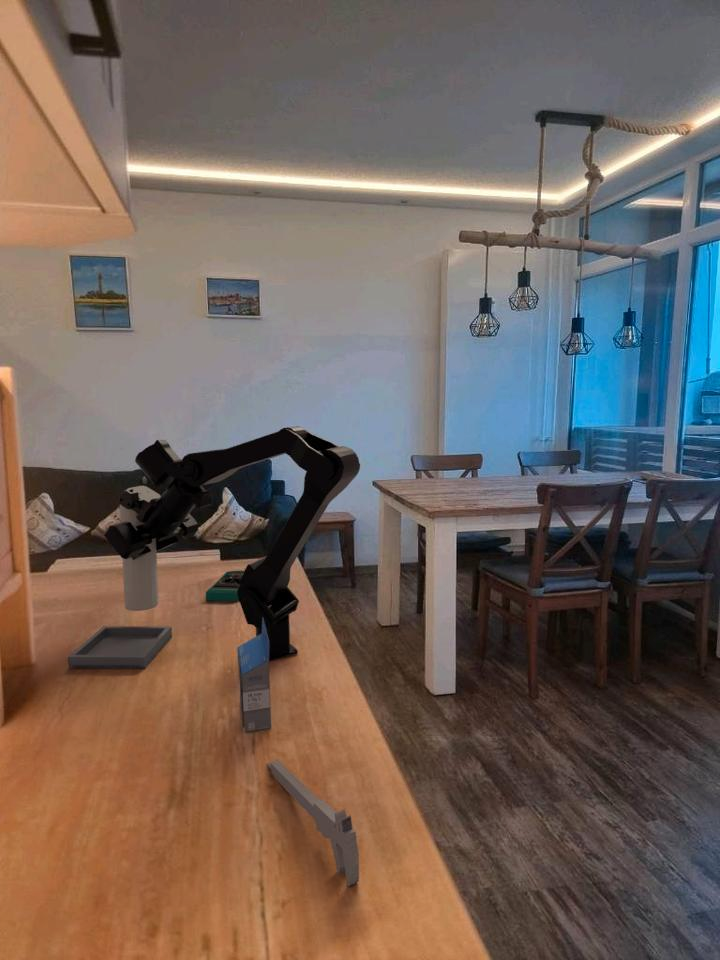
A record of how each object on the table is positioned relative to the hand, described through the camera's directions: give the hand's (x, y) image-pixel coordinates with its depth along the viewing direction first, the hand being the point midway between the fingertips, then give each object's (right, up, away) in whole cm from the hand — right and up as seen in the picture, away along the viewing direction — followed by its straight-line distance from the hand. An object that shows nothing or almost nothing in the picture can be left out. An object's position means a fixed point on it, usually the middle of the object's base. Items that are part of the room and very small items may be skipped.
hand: (132, 559), depth 110 cm
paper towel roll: (+2, -9, +1) cm, 9 cm away
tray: (+2, -15, -9) cm, 18 cm away
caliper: (+37, -21, -49) cm, 65 cm away
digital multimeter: (+14, -11, +22) cm, 28 cm away
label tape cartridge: (+28, -18, -29) cm, 45 cm away
